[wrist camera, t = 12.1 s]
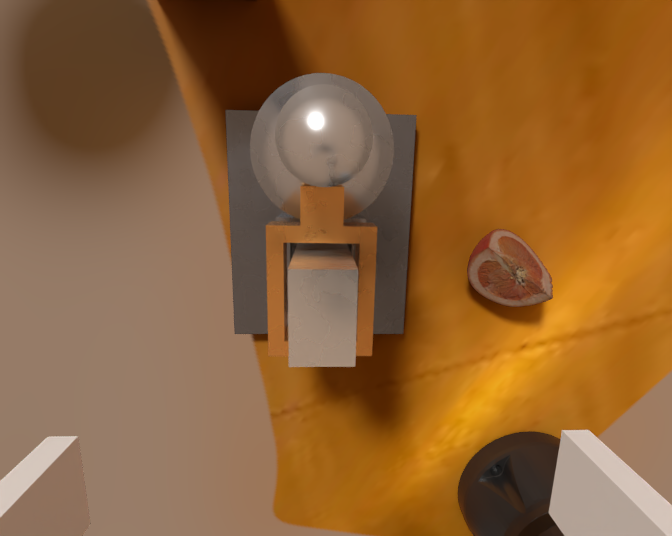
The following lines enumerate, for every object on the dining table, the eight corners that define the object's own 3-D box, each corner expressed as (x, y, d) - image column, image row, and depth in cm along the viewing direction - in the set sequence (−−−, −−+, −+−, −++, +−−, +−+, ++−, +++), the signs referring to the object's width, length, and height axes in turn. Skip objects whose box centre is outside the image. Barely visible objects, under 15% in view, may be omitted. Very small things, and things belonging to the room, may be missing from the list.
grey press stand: (400, 328, 40) (463, 440, 23) (237, 328, 39) (172, 444, 22) (412, 106, 35) (505, 30, 18) (228, 101, 35) (136, 15, 17)
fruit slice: (545, 262, 39) (577, 273, 35) (501, 312, 40) (526, 329, 36) (486, 213, 38) (511, 217, 33) (443, 265, 39) (461, 277, 34)
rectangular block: (341, 295, 38) (355, 366, 23) (300, 295, 37) (288, 366, 23) (342, 235, 36) (358, 269, 22) (300, 234, 36) (287, 269, 21)
